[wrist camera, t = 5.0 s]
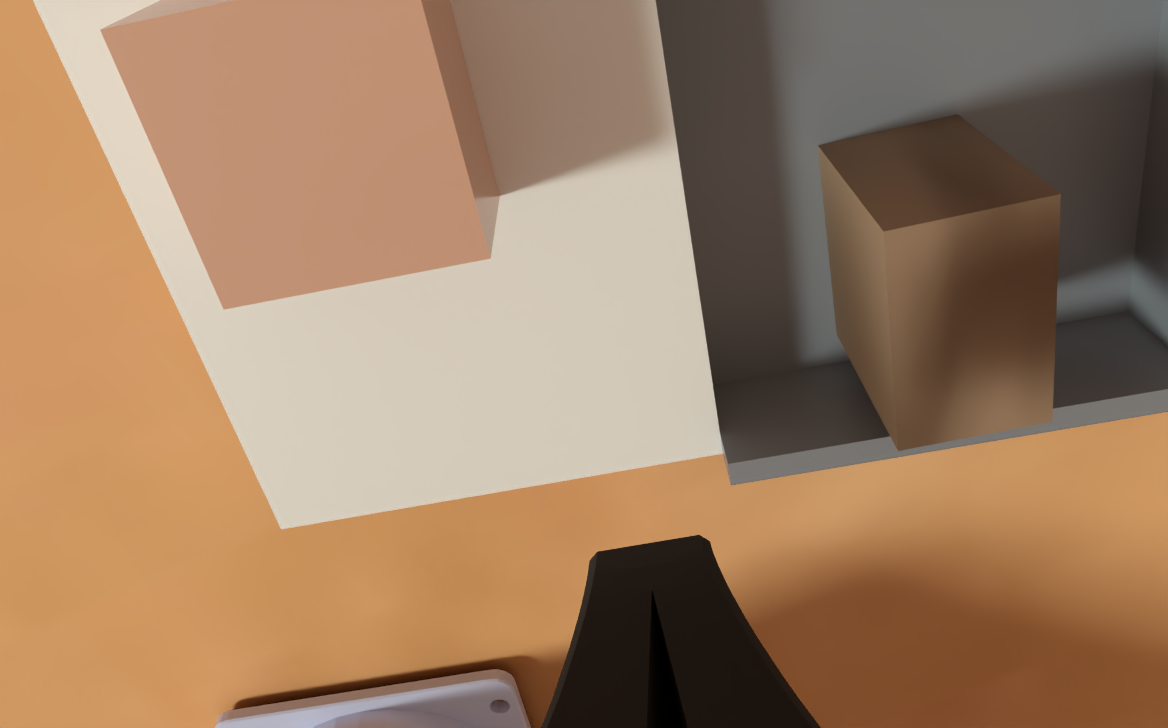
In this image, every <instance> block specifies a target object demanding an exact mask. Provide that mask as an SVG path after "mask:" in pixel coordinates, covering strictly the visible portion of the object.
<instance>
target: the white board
mask: <svg viewBox="0 0 1168 728" xmlns="http://www.w3.org/2000/svg"><path fill="white" fill-rule="evenodd" d="M33 1H34V4H35V6H36V8H37V10H38V12H39V14H40V16H41V18H42V21H43V23H44V25H45V27H46V29H47V31H48V33H49V36H50V38H51V40H52V42H53V44H54V46H55V48H56V50H57V53H58V55H59V57H60V59H61V61H62V63H63V65H64V67H65V70H66V72H67V74H68V76H69V78H70V80H71V82H72V85H73V87H74V89H75V91H76V93H77V95H78V97H79V99H80V102H81V104H82V106H83V108H84V110H85V112H86V114H87V116H88V119H89V121H90V123H91V125H92V127H93V129H94V131H95V134H96V136H97V138H98V140H99V142H100V144H101V146H102V148H103V151H104V153H105V155H106V157H107V159H108V161H109V163H110V165H111V168H112V170H113V172H114V174H115V176H116V178H117V180H118V183H119V185H120V187H121V189H122V191H123V193H124V195H125V197H126V200H127V202H128V204H129V206H130V208H131V210H132V212H133V214H134V217H135V219H136V221H137V223H138V225H139V227H140V229H141V232H142V234H143V236H144V238H145V240H146V242H147V244H148V246H149V249H150V251H151V253H152V255H153V257H154V259H155V261H156V263H157V266H158V268H159V270H160V272H161V274H162V276H163V278H164V281H165V283H166V285H167V287H168V289H169V291H170V293H171V295H172V298H173V300H174V302H175V304H176V306H177V308H178V310H179V312H180V315H181V317H182V319H183V321H184V323H185V325H186V327H187V330H188V332H189V334H190V336H191V338H192V340H193V342H194V344H195V347H196V349H197V351H198V353H199V355H200V357H201V359H202V361H203V364H204V366H205V368H206V370H207V372H208V374H209V376H210V379H211V381H212V383H213V385H214V387H215V389H216V391H217V393H218V396H219V398H220V400H221V402H222V404H223V406H224V408H225V410H226V413H227V415H228V417H229V419H230V421H231V423H232V425H233V428H234V430H235V432H236V434H237V436H238V438H239V440H240V442H241V445H242V447H243V449H244V451H245V453H246V455H247V457H248V459H249V462H250V464H251V466H252V468H253V470H254V472H255V474H256V477H257V479H258V481H259V483H260V485H261V487H262V489H263V491H264V494H265V496H266V498H267V500H268V502H269V504H270V506H271V508H272V511H273V513H274V515H275V517H276V519H277V521H278V523H279V526H280V528H281V529H286V528H292V527H297V526H303V525H309V524H315V523H321V522H327V521H332V520H338V519H344V518H350V517H356V516H362V515H367V514H373V513H379V512H385V511H391V510H397V509H402V508H408V507H414V506H420V505H426V504H432V503H437V502H443V501H449V500H455V499H461V498H467V497H472V496H478V495H484V494H490V493H496V492H502V491H507V490H513V489H519V488H525V487H531V486H537V485H542V484H548V483H554V482H560V481H566V480H572V479H577V478H583V477H589V476H595V475H601V474H607V473H612V472H618V471H624V470H630V469H636V468H642V467H647V466H653V465H659V464H665V463H671V462H676V461H682V460H688V459H694V458H700V457H706V456H711V455H717V454H723V451H722V444H721V437H720V430H719V424H718V417H717V410H716V403H715V397H714V390H713V383H712V377H711V370H710V363H709V356H708V350H707V343H706V336H705V330H704V323H703V316H702V309H701V303H700V296H699V289H698V282H697V276H696V269H695V262H694V256H693V249H692V242H691V235H690V229H689V222H688V215H687V209H686V202H685V195H684V188H683V182H682V175H681V168H680V161H679V155H678V148H677V141H676V135H675V128H674V121H673V114H672V108H671V101H670V94H669V88H668V81H667V74H666V67H665V61H664V54H663V47H662V41H661V34H660V27H659V20H658V14H657V7H656V0H450V2H451V6H452V10H453V14H454V18H455V22H456V26H457V30H458V33H459V37H460V41H461V45H462V49H463V53H464V57H465V61H466V65H467V69H468V73H469V77H470V81H471V85H472V88H473V92H474V96H475V100H476V104H477V108H478V112H479V116H480V120H481V124H482V128H483V132H484V136H485V140H486V143H487V147H488V151H489V155H490V159H491V163H492V167H493V171H494V175H495V179H496V183H497V187H498V191H499V195H500V199H499V206H498V212H497V219H496V226H495V233H494V239H493V246H492V253H491V259H486V260H481V261H475V262H470V263H465V264H460V265H454V266H449V267H444V268H439V269H433V270H428V271H423V272H418V273H413V274H407V275H402V276H397V277H392V278H386V279H381V280H376V281H371V282H366V283H360V284H355V285H350V286H345V287H339V288H334V289H329V290H324V291H318V292H313V293H308V294H303V295H298V296H292V297H287V298H282V299H277V300H271V301H266V302H261V303H256V304H251V305H245V306H240V307H235V308H230V309H223V307H222V305H221V303H220V300H219V298H218V296H217V294H216V291H215V289H214V287H213V284H212V282H211V280H210V278H209V275H208V273H207V271H206V269H205V266H204V264H203V262H202V260H201V257H200V255H199V253H198V251H197V248H196V246H195V244H194V241H193V239H192V237H191V235H190V232H189V230H188V228H187V226H186V223H185V221H184V219H183V217H182V214H181V212H180V210H179V207H178V205H177V203H176V201H175V198H174V196H173V194H172V192H171V189H170V187H169V185H168V183H167V180H166V178H165V176H164V174H163V171H162V169H161V167H160V164H159V162H158V160H157V158H156V155H155V153H154V151H153V149H152V146H151V144H150V142H149V140H148V137H147V135H146V133H145V130H144V128H143V126H142V124H141V121H140V119H139V117H138V115H137V112H136V110H135V108H134V106H133V103H132V101H131V99H130V97H129V94H128V92H127V90H126V87H125V85H124V83H123V81H122V78H121V76H120V74H119V72H118V69H117V67H116V65H115V63H114V60H113V58H112V56H111V53H110V51H109V49H108V47H107V44H106V42H105V40H104V38H103V35H102V33H101V31H100V29H102V28H104V27H106V26H108V25H110V24H113V23H115V22H117V21H119V20H121V19H123V18H125V17H127V16H129V15H131V14H133V13H135V12H137V11H139V10H141V9H143V8H145V7H147V6H149V5H151V4H153V3H155V2H157V1H159V0H33Z"/></svg>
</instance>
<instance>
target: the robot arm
mask: <svg viewBox="0 0 1168 728" xmlns="http://www.w3.org/2000/svg"><path fill="white" fill-rule="evenodd" d="M497 700H504V701H497ZM215 728H531V726H530V723H529V720H528V717H527V714H526V711H525V708H524V705H523V703H522V700H521V697H520V694H519V691H518V688H517V685H516V682H515V679H514V678H513V676H512V675H511V674H509V673H508V672H506V671H503V670H500V669H491V670H484V671H478V672H471V673H465V674H459V675H452V676H446V677H440V678H433V679H427V680H420V681H414V682H408V683H401V684H395V685H388V686H382V687H376V688H369V689H363V690H357V691H350V692H344V693H337V694H331V695H325V696H318V697H312V698H305V699H299V700H293V701H286V702H280V703H274V704H267V705H261V706H254V707H248V708H242V709H235V710H230V711H227V712H224V713H222V714H221V715H220V716H219V719H218V721H217V724H216V727H215ZM541 728H820V726H819V725H818V724H817V722H816V721H815V720H814V718H813V717H812V716H811V714H810V713H809V712H808V710H807V709H806V708H805V706H804V705H803V704H802V702H801V701H800V700H799V698H798V697H797V695H796V694H795V693H794V691H793V690H792V688H791V687H790V686H789V684H788V683H787V681H786V680H785V679H784V677H783V676H782V674H781V673H780V671H779V670H778V668H777V667H776V665H775V664H774V662H773V661H772V659H771V657H770V656H769V654H768V653H767V651H766V650H765V648H764V647H763V645H762V644H761V642H760V641H759V639H758V638H757V636H756V635H755V633H754V631H753V630H752V628H751V626H750V625H749V623H748V621H747V620H746V618H745V616H744V615H743V613H742V611H741V609H740V607H739V606H738V604H737V602H736V600H735V598H734V597H733V595H732V593H731V591H730V589H729V587H728V585H727V583H726V581H725V579H724V577H723V575H722V573H721V571H720V568H719V566H718V564H717V561H716V559H715V556H714V554H713V551H712V548H711V544H710V541H708V540H707V539H705V538H703V537H702V536H700V535H696V536H690V537H684V538H678V539H672V540H666V541H660V542H654V543H648V544H641V545H635V546H629V547H623V548H617V549H611V550H605V551H599V552H597V553H596V554H595V555H594V556H593V557H592V559H591V560H590V562H589V570H588V576H587V582H586V587H585V591H584V596H583V600H582V605H581V609H580V613H579V616H578V620H577V624H576V627H575V631H574V634H573V638H572V641H571V645H570V648H569V651H568V654H567V657H566V660H565V663H564V666H563V669H562V672H561V675H560V678H559V681H558V684H557V687H556V690H555V693H554V696H553V699H552V701H551V704H550V707H549V710H548V712H547V715H546V717H545V720H544V722H543V725H542V727H541Z"/></svg>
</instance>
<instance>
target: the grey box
mask: <svg viewBox="0 0 1168 728" xmlns="http://www.w3.org/2000/svg"><path fill="white" fill-rule="evenodd" d="M656 7H657V14H658V20H659V27H660V34H661V41H662V47H663V54H664V61H665V67H666V74H667V81H668V88H669V94H670V101H671V108H672V114H673V121H674V128H675V135H676V141H677V148H678V155H679V161H680V168H681V175H682V182H683V188H684V195H685V202H686V209H687V215H688V222H689V229H690V235H691V242H692V249H693V256H694V262H695V269H696V276H697V282H698V289H699V296H700V303H701V309H702V316H703V323H704V330H705V336H706V343H707V350H708V356H709V363H710V370H711V377H712V383H713V390H714V397H715V403H716V410H717V417H718V424H719V430H720V437H721V444H722V451H723V456H724V460H725V464H726V467H727V471H728V475H729V479H730V483H731V485H736V484H742V483H748V482H754V481H760V480H766V479H772V478H778V477H784V476H789V475H795V474H801V473H807V472H813V471H819V470H825V469H831V468H837V467H843V466H849V465H855V464H861V463H866V462H872V461H878V460H884V459H890V458H896V457H902V456H908V455H914V454H920V453H926V452H932V451H938V450H944V449H949V448H955V447H961V446H967V445H973V444H979V443H985V442H991V441H997V440H1003V439H1009V438H1015V437H1021V436H1026V435H1032V434H1038V433H1044V432H1050V431H1056V430H1062V429H1068V428H1074V427H1080V426H1086V425H1092V424H1098V423H1104V422H1109V421H1115V420H1121V419H1127V418H1133V417H1139V416H1145V415H1151V414H1157V413H1163V412H1168V0H656ZM953 115H959V116H961V117H962V118H963V119H964V120H966V121H967V122H968V123H970V124H971V125H972V126H973V127H975V128H976V129H977V130H979V131H980V132H981V133H983V134H984V135H985V136H986V137H988V138H989V139H990V140H992V141H993V142H994V143H995V144H997V145H998V146H999V147H1001V148H1002V149H1003V150H1005V151H1006V152H1007V153H1008V154H1010V155H1011V156H1012V157H1014V158H1015V159H1016V160H1017V161H1019V162H1020V163H1021V164H1023V165H1024V166H1025V167H1027V168H1028V169H1029V170H1030V171H1032V172H1033V173H1034V174H1036V175H1037V176H1038V177H1039V178H1041V179H1042V180H1043V181H1045V182H1046V183H1047V184H1049V185H1050V186H1051V187H1052V188H1054V189H1055V190H1056V191H1058V192H1059V193H1060V194H1061V203H1060V230H1059V257H1058V284H1057V311H1056V338H1055V365H1054V392H1053V419H1052V422H1048V423H1043V424H1038V425H1032V426H1027V427H1022V428H1017V429H1011V430H1006V431H1001V432H996V433H990V434H985V435H980V436H975V437H969V438H964V439H959V440H954V441H948V442H943V443H938V444H933V445H928V446H922V447H917V448H912V449H907V450H901V451H898V450H897V448H896V446H895V444H894V443H893V441H892V439H891V437H890V435H889V433H888V431H887V429H886V427H885V425H884V424H883V422H882V420H881V418H880V416H879V414H878V412H877V410H876V408H875V406H874V405H873V403H872V401H871V399H870V397H869V395H868V393H867V391H866V389H865V387H864V386H863V384H862V382H861V380H860V378H859V376H858V374H857V372H856V370H855V368H854V367H853V365H852V363H851V361H850V359H849V357H848V355H847V353H846V351H845V350H844V348H843V346H842V344H841V342H840V340H839V338H838V336H837V334H836V324H835V314H834V304H833V294H832V283H831V273H830V263H829V253H828V243H827V233H826V223H825V213H824V203H823V193H822V183H821V173H820V163H819V153H818V145H822V144H827V143H831V142H836V141H840V140H845V139H849V138H854V137H858V136H863V135H867V134H872V133H876V132H881V131H885V130H890V129H894V128H899V127H904V126H908V125H913V124H917V123H922V122H926V121H931V120H935V119H940V118H944V117H949V116H953Z"/></svg>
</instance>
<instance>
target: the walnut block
mask: <svg viewBox="0 0 1168 728" xmlns="http://www.w3.org/2000/svg"><path fill="white" fill-rule="evenodd" d="M818 153H819V163H820V173H821V183H822V193H823V203H824V213H825V223H826V233H827V243H828V253H829V263H830V273H831V283H832V294H833V304H834V314H835V324H836V334H837V336H838V338H839V340H840V342H841V344H842V346H843V348H844V350H845V351H846V353H847V355H848V357H849V359H850V361H851V363H852V365H853V367H854V368H855V370H856V372H857V374H858V376H859V378H860V380H861V382H862V384H863V386H864V387H865V389H866V391H867V393H868V395H869V397H870V399H871V401H872V403H873V405H874V406H875V408H876V410H877V412H878V414H879V416H880V418H881V420H882V422H883V424H884V425H885V427H886V429H887V431H888V433H889V435H890V437H891V439H892V441H893V443H894V444H895V446H896V448H897V450H898V451H901V450H907V449H912V448H917V447H922V446H928V445H933V444H938V443H943V442H948V441H954V440H959V439H964V438H969V437H975V436H980V435H985V434H990V433H996V432H1001V431H1006V430H1011V429H1017V428H1022V427H1027V426H1032V425H1038V424H1043V423H1048V422H1052V419H1053V392H1054V365H1055V338H1056V311H1057V284H1058V257H1059V230H1060V203H1061V194H1060V193H1059V192H1058V191H1056V190H1055V189H1054V188H1052V187H1051V186H1050V185H1049V184H1047V183H1046V182H1045V181H1043V180H1042V179H1041V178H1039V177H1038V176H1037V175H1036V174H1034V173H1033V172H1032V171H1030V170H1029V169H1028V168H1027V167H1025V166H1024V165H1023V164H1021V163H1020V162H1019V161H1017V160H1016V159H1015V158H1014V157H1012V156H1011V155H1010V154H1008V153H1007V152H1006V151H1005V150H1003V149H1002V148H1001V147H999V146H998V145H997V144H995V143H994V142H993V141H992V140H990V139H989V138H988V137H986V136H985V135H984V134H983V133H981V132H980V131H979V130H977V129H976V128H975V127H973V126H972V125H971V124H970V123H968V122H967V121H966V120H964V119H963V118H962V117H961V116H959V115H953V116H949V117H944V118H940V119H935V120H931V121H926V122H922V123H917V124H913V125H908V126H904V127H899V128H894V129H890V130H885V131H881V132H876V133H872V134H867V135H863V136H858V137H854V138H849V139H845V140H840V141H836V142H831V143H827V144H822V145H818Z"/></svg>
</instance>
